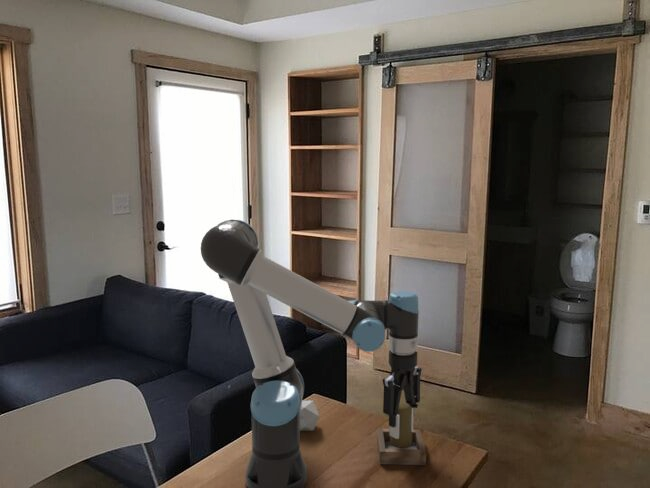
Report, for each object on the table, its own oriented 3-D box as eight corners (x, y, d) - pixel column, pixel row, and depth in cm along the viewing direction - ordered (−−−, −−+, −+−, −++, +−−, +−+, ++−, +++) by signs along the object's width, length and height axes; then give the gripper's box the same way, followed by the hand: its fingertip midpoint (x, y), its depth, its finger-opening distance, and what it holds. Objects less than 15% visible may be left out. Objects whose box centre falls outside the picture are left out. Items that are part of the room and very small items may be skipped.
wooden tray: (379, 464, 140) (379, 451, 140) (377, 440, 152) (377, 428, 152) (425, 465, 140) (426, 452, 139) (419, 441, 152) (420, 429, 151)
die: (284, 427, 161) (283, 411, 154) (302, 404, 166) (301, 388, 159) (307, 443, 158) (307, 428, 150) (324, 419, 163) (325, 403, 156)
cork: (412, 449, 142) (412, 410, 140) (389, 447, 143) (389, 408, 142) (413, 437, 148) (413, 400, 146) (390, 435, 149) (391, 398, 147)
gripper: (391, 363, 133) (389, 450, 136) (435, 345, 145) (433, 426, 149) (368, 355, 138) (368, 439, 142) (413, 339, 150) (411, 417, 154)
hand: (401, 432), depth 145 cm, fingers closed on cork, 5 cm apart
